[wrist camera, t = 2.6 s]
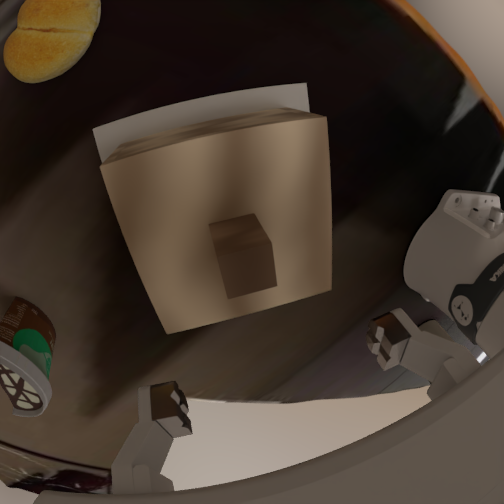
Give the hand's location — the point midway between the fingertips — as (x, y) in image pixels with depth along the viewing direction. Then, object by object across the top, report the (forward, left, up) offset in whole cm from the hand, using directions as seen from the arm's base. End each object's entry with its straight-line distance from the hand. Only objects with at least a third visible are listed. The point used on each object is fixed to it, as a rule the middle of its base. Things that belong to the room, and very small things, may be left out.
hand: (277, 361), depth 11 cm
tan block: (0, 0, -18) cm, 18 cm away
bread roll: (+11, -19, -19) cm, 29 cm away
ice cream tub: (+25, +10, -18) cm, 32 cm away
